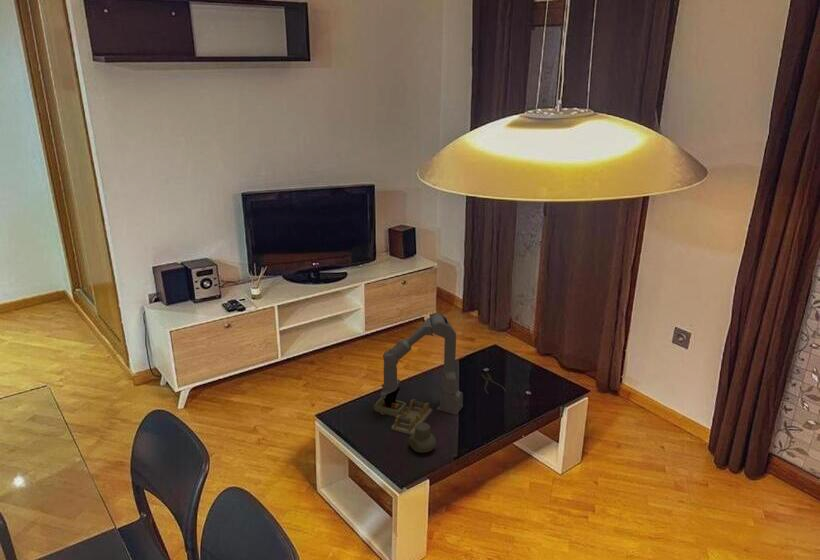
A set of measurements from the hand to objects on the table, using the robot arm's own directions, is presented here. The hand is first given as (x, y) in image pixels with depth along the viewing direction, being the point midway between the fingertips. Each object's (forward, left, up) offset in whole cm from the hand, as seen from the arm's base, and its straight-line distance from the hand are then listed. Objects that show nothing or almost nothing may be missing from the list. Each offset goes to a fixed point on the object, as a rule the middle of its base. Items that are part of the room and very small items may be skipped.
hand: (390, 405), depth 269 cm
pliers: (-31, -41, -3) cm, 51 cm away
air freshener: (-24, +19, -3) cm, 31 cm away
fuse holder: (-12, +3, -2) cm, 13 cm away
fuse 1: (-12, +10, 0) cm, 16 cm away
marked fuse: (0, 0, -1) cm, 1 cm away
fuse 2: (-12, -4, 0) cm, 13 cm away
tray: (0, 0, -2) cm, 2 cm away
